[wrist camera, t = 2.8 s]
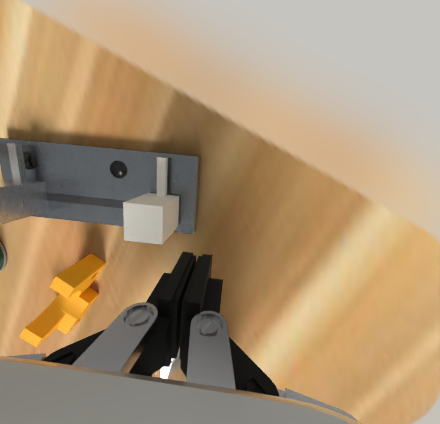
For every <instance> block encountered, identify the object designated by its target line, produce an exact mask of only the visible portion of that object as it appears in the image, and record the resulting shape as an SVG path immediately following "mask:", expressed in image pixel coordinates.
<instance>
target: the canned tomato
mask: <svg viewBox="0 0 440 424" xmlns="http://www.w3.org/2000/svg"><path fill="white" fill-rule="evenodd" d="M6 262H7V255H6V251H5V249H4V246H3V245H2V243H1V242H0V271H2V270H3V269H4V267H5V265H6Z"/></svg>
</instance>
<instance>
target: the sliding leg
mask: <svg viewBox="0 0 440 424" xmlns="http://www.w3.org/2000/svg"><path fill="white" fill-rule="evenodd" d="M167 168H168V158H162V157H157V194H155V193H147V194H144V195H141V196H139V197H136V198H133V199H131V200H128V201H126V202H123V217H124V240H126V241H135V242H144V243H152V244H161V245H162V244H163V243H164V242H165V241H166V240H167V239H168V237H169V236H170V235H171V234H172V233H173V232H174V230H175V229H176V228H177V227H178V217H179V196H174V195H167Z"/></svg>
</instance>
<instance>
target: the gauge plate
mask: <svg viewBox="0 0 440 424" xmlns="http://www.w3.org/2000/svg"><path fill="white" fill-rule="evenodd" d="M157 157H162V158H168V168H167V195H174V196H179V217H178V227H177V228H176V229H175V230H174V232H181V233H190V234H194V232H195V230H196V215H197V199H198V183H199V167H200V157H198V156H188V155H177V154H166V153H155V152H145V151H134V150H123V149H112V148H102V147H91V146H80V145H69V144H59V143H48V142H37V141H26V140H16V139H5V138H0V165H1V171H2V177H3V180H0V224H4V223H8V222H11V221H15V220H19V219H22V218H26V217H29V216H37V217H46V218H55V219H64V220H73V221H82V222H91V223H100V224H109V225H118V226H124V217H123V202H126V201H128V200H131V199H133V198H136V197H139V196H141V195H144V194H147V193H155V194H157Z"/></svg>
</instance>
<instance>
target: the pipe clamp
mask: <svg viewBox="0 0 440 424" xmlns="http://www.w3.org/2000/svg"><path fill="white" fill-rule="evenodd" d="M105 264H106V263H105V262H103V261H102V260H101V259H99V258H98V257H96V256H95V255H93V254H92V253H91V254H89V255H88V256H86V257H85V258H83V259H82V260H80V261H79V262H77V263H76V264H74V265H72V266H71V267H69V268H68V269H66V270H65V271H63V272H62V273H60V274H59V275H57V276H56V277H55V279H54V280H53V282H52V284H51V285H50V288H52V289H53V290H55V291H56V292H58V293H59V295H58V296H57V297H56V298H55V300H54V301H53V302H52V303H51V304H50V305H49V306H48V307H47V308H46V309H45V310H44V311H43V312H42V313H41V314H40V315H39V316H38V317H37V318H36V319H35V320H34V321H33V322H31V323H30V324H29V325H28V326H27V327H25V329H24V330H23V332H22V334H21V335H20V338H22V339H23V340H25V341H27V342H28V343H30V344H32V345H33V346H35V347H37V346H38V345H39V344H40V343H41V342H42V341H43V340H44V339H46V338H47V337H48V336H49V335H50V334H51V333H52V332H53V331H54V330H55V329H58V330H60V331H61V332H63V333H64V334H67V333H68V332H69V331H70V330H71V329H72V328H73V327H74V326H75V325H76V324H77V323H78V322H79V321H80V320H81V319H82V317H83V316H84V314H85V313H86V312H87V310H88V309H89V307H90V306H91V304H92V303H93V302H94V300H95V299H96V297H97V296H98V294H99V293H97V292H96V291H94V290H93V289H91V288H90V286H91V285H92V283H93V282H94V280H95V279H96V277H97V276H98V274H99V273H100V271H101V270H102V268H103V267H104V265H105Z"/></svg>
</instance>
